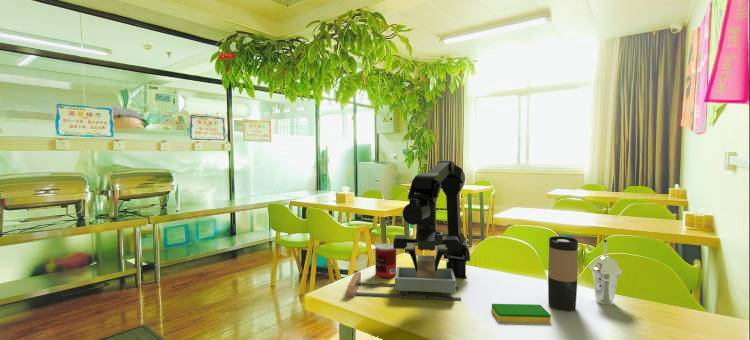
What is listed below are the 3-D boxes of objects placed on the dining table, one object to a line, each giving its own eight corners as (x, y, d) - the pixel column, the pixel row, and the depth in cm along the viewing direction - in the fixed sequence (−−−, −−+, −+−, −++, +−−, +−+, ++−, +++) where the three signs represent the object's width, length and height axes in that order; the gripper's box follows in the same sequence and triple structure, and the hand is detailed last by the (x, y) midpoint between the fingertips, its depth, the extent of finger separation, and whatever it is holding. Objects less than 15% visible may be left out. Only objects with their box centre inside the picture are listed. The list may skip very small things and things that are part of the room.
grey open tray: (452, 284, 122) (452, 268, 122) (455, 298, 110) (455, 280, 110) (397, 282, 124) (397, 266, 124) (394, 295, 112) (394, 278, 112)
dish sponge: (491, 311, 104) (491, 303, 104) (540, 312, 103) (540, 304, 103) (498, 322, 97) (498, 314, 97) (551, 324, 96) (551, 315, 96)
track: (457, 286, 122) (457, 276, 122) (461, 302, 109) (461, 290, 109) (355, 282, 126) (355, 272, 126) (348, 296, 114) (348, 285, 113)
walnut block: (434, 272, 108) (434, 255, 107) (435, 278, 103) (435, 261, 102) (417, 271, 108) (417, 255, 108) (417, 277, 103) (417, 260, 103)
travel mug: (573, 303, 109) (575, 237, 108) (579, 313, 102) (580, 243, 101) (546, 299, 111) (547, 235, 110) (549, 309, 104) (550, 241, 103)
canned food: (396, 272, 137) (396, 243, 137) (395, 279, 129) (395, 249, 129) (376, 271, 138) (376, 243, 138) (374, 278, 130) (374, 248, 130)
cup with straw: (627, 303, 108) (629, 237, 107) (610, 310, 104) (612, 241, 103) (598, 294, 116) (599, 232, 115) (581, 299, 111) (582, 235, 110)
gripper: (391, 223, 98) (392, 280, 98) (462, 224, 95) (462, 282, 96) (394, 216, 109) (394, 267, 110) (457, 217, 106) (457, 269, 107)
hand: (425, 271), depth 105 cm, fingers closed on walnut block, 5 cm apart
